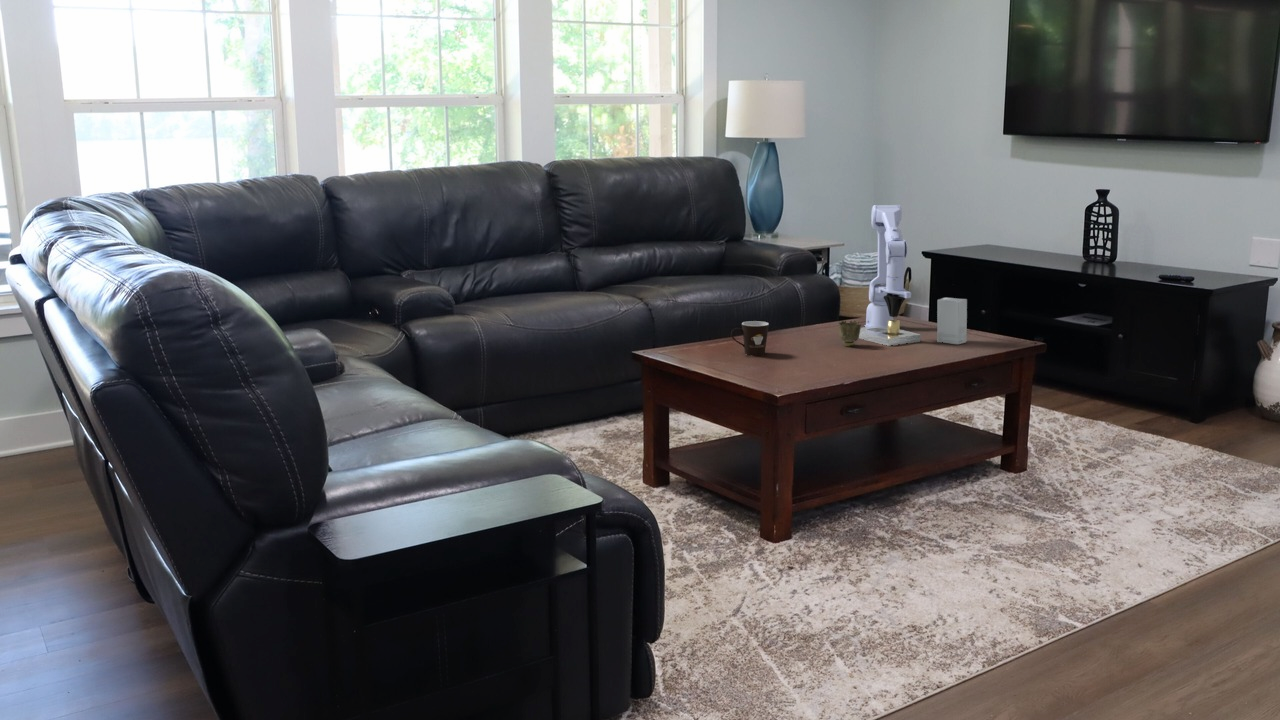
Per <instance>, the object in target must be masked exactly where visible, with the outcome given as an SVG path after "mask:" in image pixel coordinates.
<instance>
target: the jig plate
mask: <svg viewBox="0 0 1280 720" xmlns="http://www.w3.org/2000/svg"><path fill="white" fill-rule="evenodd" d="M921 337H922V335H921V334H920V333H915V332H912V331H908V330H904V329H900V328H899V335H896V336H890V335H887V326H883V325H878V326H870V327H864V326H863V327H862V326H861V329H860V335H859V338H858V339H860V340H863V339H864V341H868V342H872V343H876V344H879V345H882V344H883V346H886V345H887V347H892V346H891V345H893V346H898V344H900V345H906V343H908V344H913V343H914V342H915V343H921V340H922V338H921Z"/></svg>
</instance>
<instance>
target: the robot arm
mask: <svg viewBox="0 0 1280 720" xmlns="http://www.w3.org/2000/svg"><path fill="white" fill-rule="evenodd" d="M902 213H903V211H902V206H901V204H892V205H891V204H885V205H884V204H880V205H879V204H878V205H877V204H874V205H873V206H871V213H870V214H871V220H870V221H871V223H870V224H871V229H873V230H876V235H877V276H876V277H874V278H873V279H872V280H871V281H870V282H869V288H868V301H869V302H870V303H868V306H867V307H866V312H865V313H866V315H865V324H864V325H863V327H864V326H865V327H870V326H878V325H883V326H888V320H894V318H897V317H898V316H899V312H900V309H901V307H902V305H903V303H904V301H905V300H906V299H911V298H912V292H911V291H908V290H906V288H904V286H905V285H904V284H905V283H904V282H905V265H906V264H905V263H906V258H907V254H908V243H907V241H906V239H904V238H903V234H902V230H901V229H900V228H899V227H898V226H899V225H900V223H901V220H902V217H903V216H902Z"/></svg>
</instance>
